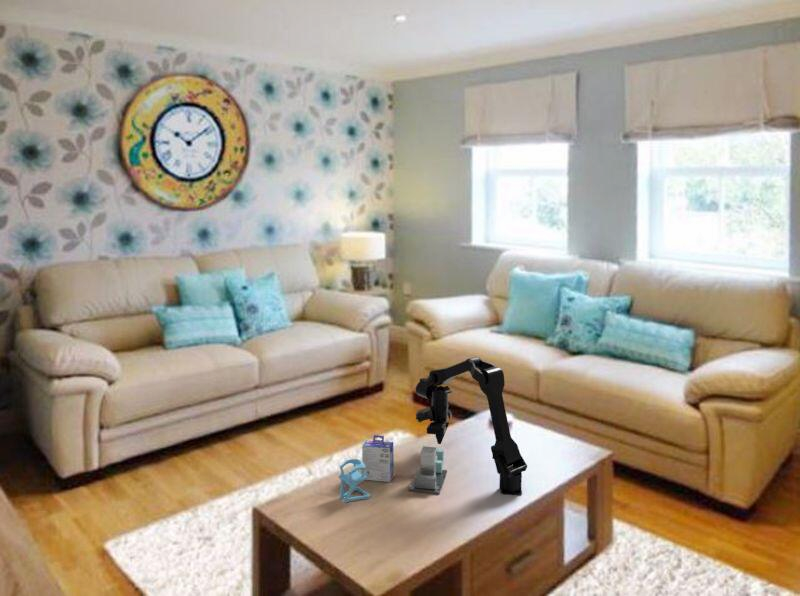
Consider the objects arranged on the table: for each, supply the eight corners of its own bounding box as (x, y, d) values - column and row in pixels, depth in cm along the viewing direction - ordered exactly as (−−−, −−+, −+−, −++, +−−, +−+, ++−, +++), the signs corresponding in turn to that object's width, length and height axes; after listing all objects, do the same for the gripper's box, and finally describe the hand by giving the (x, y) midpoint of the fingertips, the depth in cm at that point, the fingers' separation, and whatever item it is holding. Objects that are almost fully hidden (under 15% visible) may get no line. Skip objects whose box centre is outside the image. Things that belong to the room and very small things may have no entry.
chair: (335, 496, 207) (334, 461, 205) (357, 488, 212) (356, 454, 210) (348, 505, 201) (347, 469, 199) (370, 497, 206) (370, 462, 204)
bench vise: (418, 469, 225) (418, 457, 225) (447, 472, 223) (447, 459, 222) (408, 491, 210) (408, 477, 209) (439, 494, 208) (439, 481, 207)
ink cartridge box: (394, 475, 221) (394, 435, 219) (390, 482, 216) (390, 441, 213) (366, 472, 223) (365, 432, 221) (362, 480, 218) (361, 439, 215)
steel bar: (435, 476, 218) (436, 447, 216) (433, 482, 214) (434, 452, 212) (423, 475, 219) (423, 446, 217) (420, 481, 215) (420, 451, 213)
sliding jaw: (427, 457, 233) (427, 448, 232) (446, 459, 231) (446, 449, 230) (421, 471, 222) (421, 461, 221) (441, 473, 221) (441, 463, 220)
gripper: (422, 392, 244) (422, 432, 247) (412, 410, 226) (412, 452, 229) (452, 394, 242) (451, 434, 245) (444, 412, 224) (443, 455, 227)
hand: (439, 443), depth 236 cm, fingers closed
